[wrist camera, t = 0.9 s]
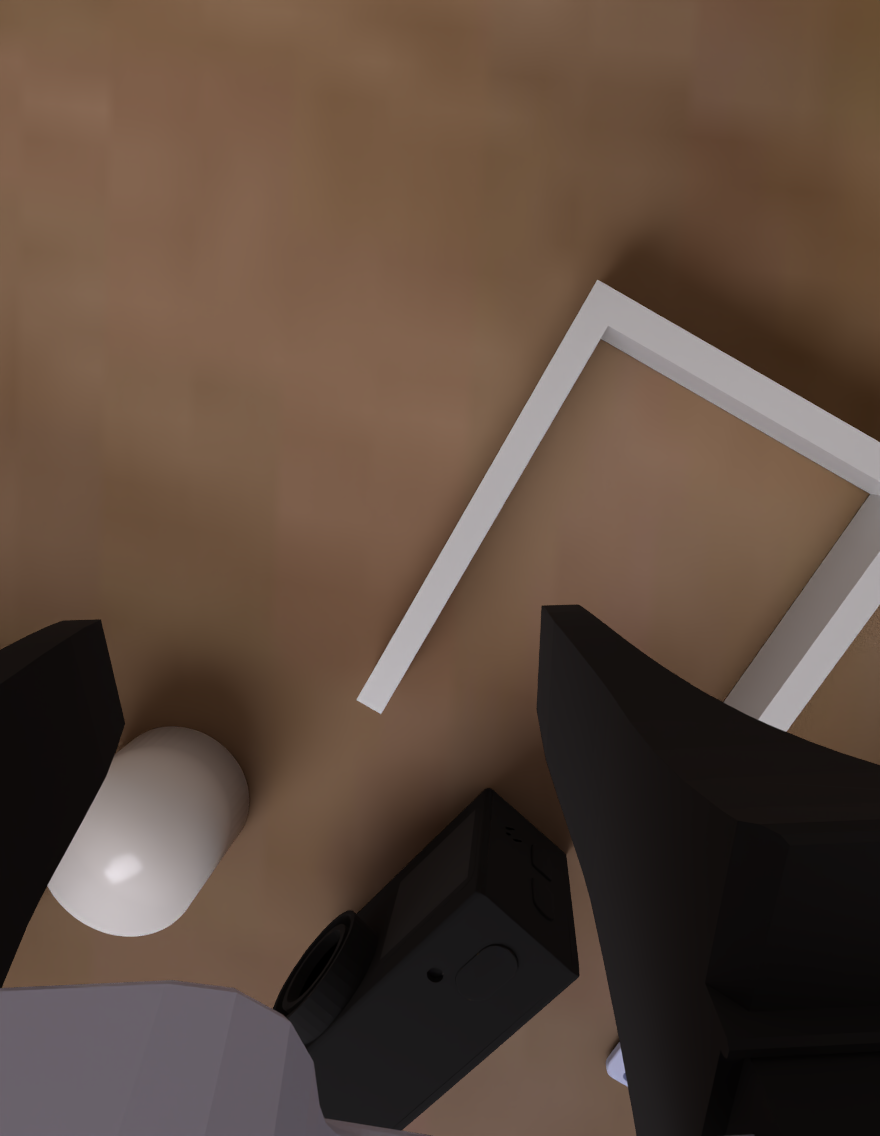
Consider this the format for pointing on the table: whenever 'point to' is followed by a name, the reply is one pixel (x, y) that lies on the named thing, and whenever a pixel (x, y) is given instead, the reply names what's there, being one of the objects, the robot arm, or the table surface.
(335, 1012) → the digital camera
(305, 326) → the table surface
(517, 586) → the table surface
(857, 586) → the frame
